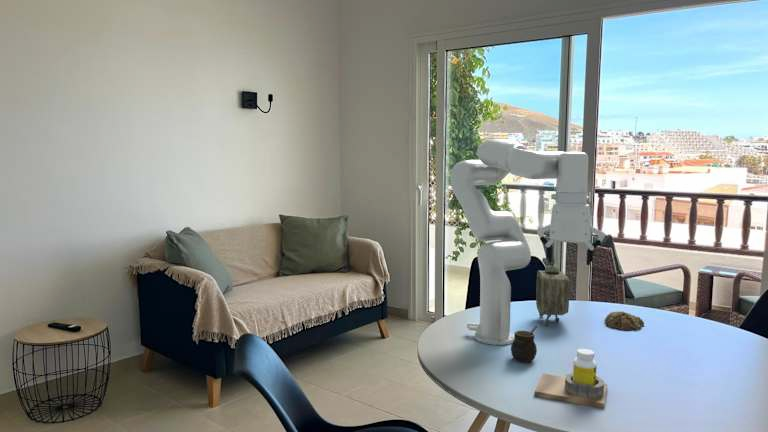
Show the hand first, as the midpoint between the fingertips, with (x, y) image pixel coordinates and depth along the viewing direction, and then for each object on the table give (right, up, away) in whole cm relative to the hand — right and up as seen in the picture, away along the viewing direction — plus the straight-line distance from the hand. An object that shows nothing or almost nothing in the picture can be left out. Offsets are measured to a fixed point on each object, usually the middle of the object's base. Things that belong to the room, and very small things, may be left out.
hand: (569, 262), depth 147 cm
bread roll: (+33, -26, +44) cm, 61 cm away
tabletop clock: (+10, -25, +47) cm, 54 cm away
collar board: (-3, -32, -9) cm, 33 cm away
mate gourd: (-9, -29, +12) cm, 33 cm away
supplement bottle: (0, -31, -11) cm, 33 cm away
